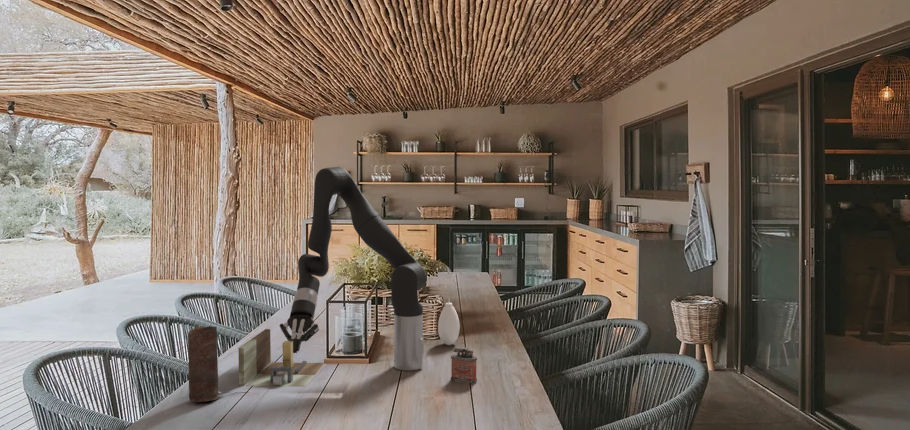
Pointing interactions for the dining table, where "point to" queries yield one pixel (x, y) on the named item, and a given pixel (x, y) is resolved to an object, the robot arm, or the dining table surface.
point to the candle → (203, 364)
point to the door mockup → (259, 356)
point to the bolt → (284, 363)
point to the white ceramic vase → (448, 324)
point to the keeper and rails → (286, 369)
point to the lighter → (463, 366)
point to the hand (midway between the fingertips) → (293, 351)
